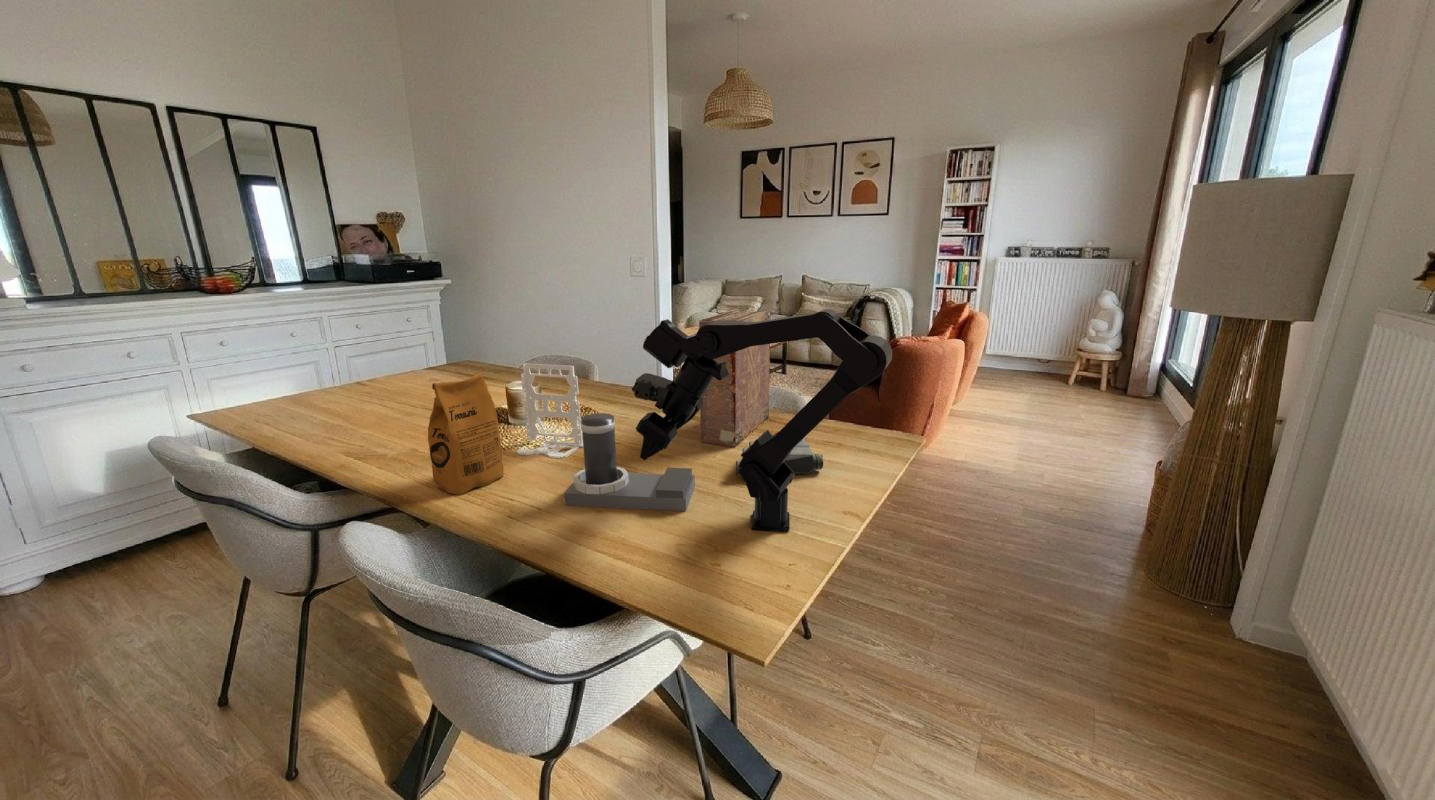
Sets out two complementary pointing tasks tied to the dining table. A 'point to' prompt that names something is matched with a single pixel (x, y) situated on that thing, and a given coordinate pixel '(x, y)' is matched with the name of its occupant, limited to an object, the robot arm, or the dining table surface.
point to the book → (737, 389)
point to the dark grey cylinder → (599, 448)
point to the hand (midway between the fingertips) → (652, 447)
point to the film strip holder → (551, 412)
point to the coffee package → (464, 436)
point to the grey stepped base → (635, 490)
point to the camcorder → (798, 459)
